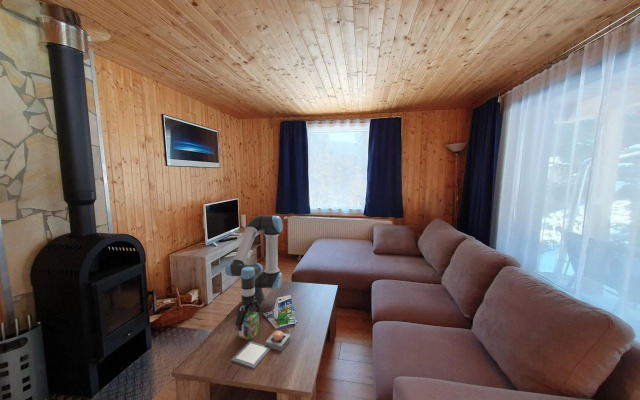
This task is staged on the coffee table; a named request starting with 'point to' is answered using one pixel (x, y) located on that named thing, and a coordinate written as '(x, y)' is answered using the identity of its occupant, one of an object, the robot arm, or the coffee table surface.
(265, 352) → the slate
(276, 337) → the button
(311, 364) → the coffee table surface
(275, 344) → the button console
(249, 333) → the chalk box
